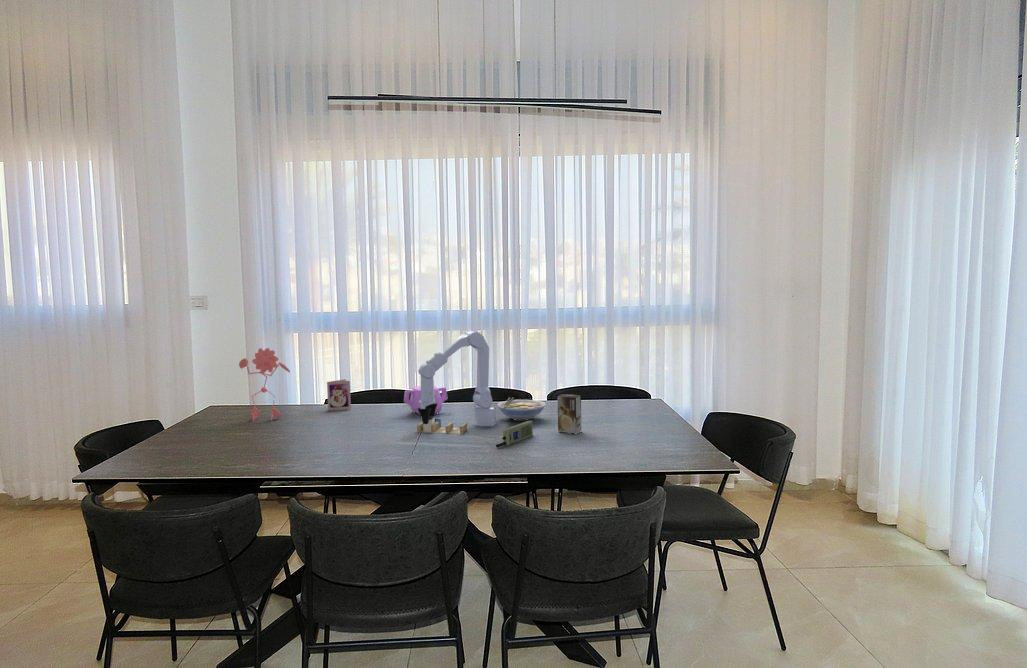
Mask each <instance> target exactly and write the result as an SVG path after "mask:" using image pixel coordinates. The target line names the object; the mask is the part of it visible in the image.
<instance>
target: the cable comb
mask: <svg viewBox="0 0 1027 668" xmlns="http://www.w3.org/2000/svg"><path fill="white" fill-rule="evenodd" d="M434 418H435V423H434V424H433V425H432V426H431V431H423V422H422V421H421V422H420V423H418V424H417V425H416V432H417V433H427V434H429V433H430V434H456V435H457V434H459V435H460V434H461V435H463V434H464V433H465V432H467V430H469V427H468V422H464V423H462V424H461V425H460V426H459V427H454V422H452V421H450V422H449V423H448V424H446V425H445V427H442V418H441V417H434Z"/></svg>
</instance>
